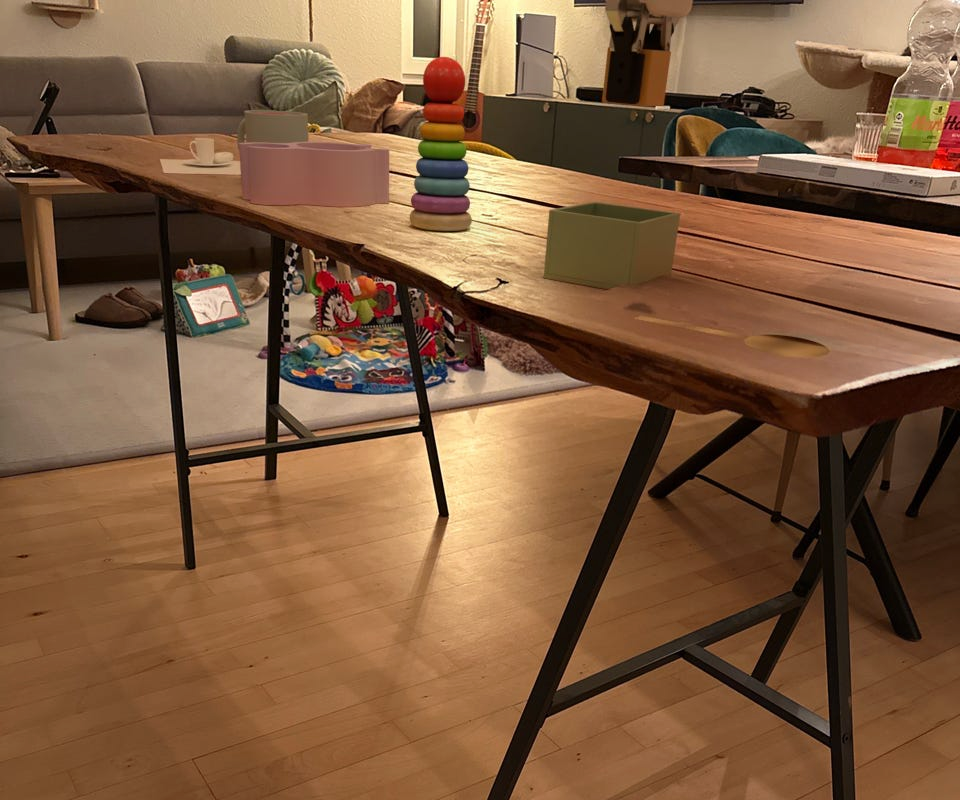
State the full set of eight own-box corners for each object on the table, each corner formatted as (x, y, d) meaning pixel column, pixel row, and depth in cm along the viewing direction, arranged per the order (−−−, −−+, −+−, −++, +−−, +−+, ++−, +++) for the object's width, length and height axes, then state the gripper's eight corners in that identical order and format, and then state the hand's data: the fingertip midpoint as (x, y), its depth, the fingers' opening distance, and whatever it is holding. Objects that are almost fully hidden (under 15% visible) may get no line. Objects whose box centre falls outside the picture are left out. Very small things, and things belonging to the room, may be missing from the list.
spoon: (837, 354, 79) (839, 344, 79) (814, 372, 74) (816, 361, 74) (651, 319, 86) (652, 310, 86) (619, 333, 81) (620, 323, 81)
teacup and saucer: (232, 163, 171) (230, 137, 168) (237, 168, 164) (235, 142, 162) (181, 162, 168) (178, 135, 166) (183, 167, 162) (180, 140, 160)
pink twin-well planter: (260, 207, 129) (257, 150, 125) (233, 194, 138) (229, 140, 134) (397, 206, 138) (397, 151, 134) (363, 193, 147) (363, 142, 143)
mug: (322, 188, 149) (320, 115, 144) (276, 192, 143) (272, 115, 138) (264, 178, 156) (260, 107, 151) (217, 181, 150) (212, 107, 145)
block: (663, 106, 93) (671, 51, 90) (645, 106, 89) (652, 49, 87) (621, 102, 94) (627, 48, 92) (601, 102, 91) (607, 46, 89)
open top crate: (670, 279, 103) (680, 213, 99) (631, 293, 95) (641, 223, 92) (586, 265, 107) (593, 201, 103) (543, 278, 100) (549, 209, 96)
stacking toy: (484, 230, 124) (493, 59, 114) (437, 234, 119) (442, 57, 109) (443, 220, 128) (448, 56, 118) (396, 224, 123) (398, 53, 114)
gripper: (666, -162, 74) (633, 107, 84) (738, -126, 87) (702, 105, 96) (580, -160, 78) (557, 100, 87) (661, -125, 90) (633, 99, 100)
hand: (633, 100), depth 92 cm, fingers closed on block, 4 cm apart
